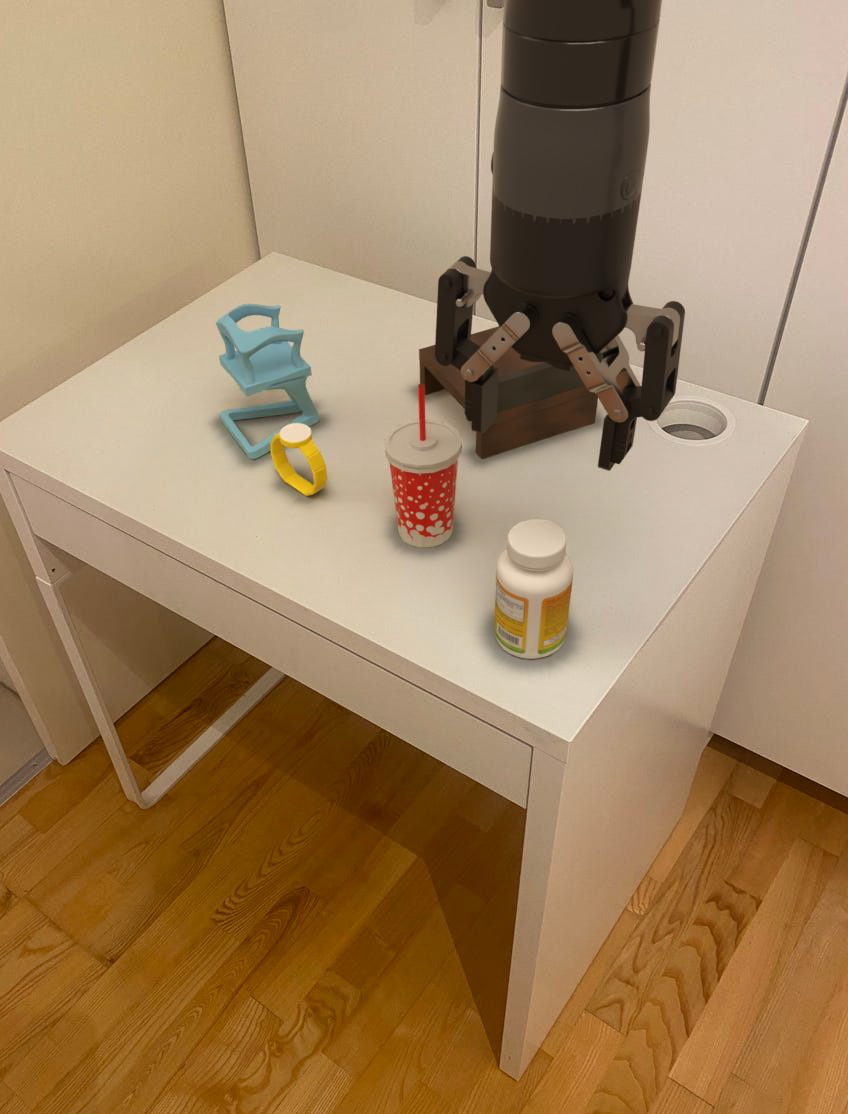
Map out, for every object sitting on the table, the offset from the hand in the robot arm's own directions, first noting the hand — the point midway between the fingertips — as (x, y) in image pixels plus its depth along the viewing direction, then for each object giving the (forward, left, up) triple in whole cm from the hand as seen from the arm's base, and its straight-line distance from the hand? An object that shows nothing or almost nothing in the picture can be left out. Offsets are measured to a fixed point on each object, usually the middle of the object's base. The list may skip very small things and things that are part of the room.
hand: (544, 443), depth 62 cm
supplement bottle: (0, 0, -18) cm, 18 cm away
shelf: (-13, -27, -17) cm, 35 cm away
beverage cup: (+2, -15, -18) cm, 23 cm away
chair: (+8, -35, -18) cm, 40 cm away
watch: (+9, -25, -18) cm, 32 cm away
